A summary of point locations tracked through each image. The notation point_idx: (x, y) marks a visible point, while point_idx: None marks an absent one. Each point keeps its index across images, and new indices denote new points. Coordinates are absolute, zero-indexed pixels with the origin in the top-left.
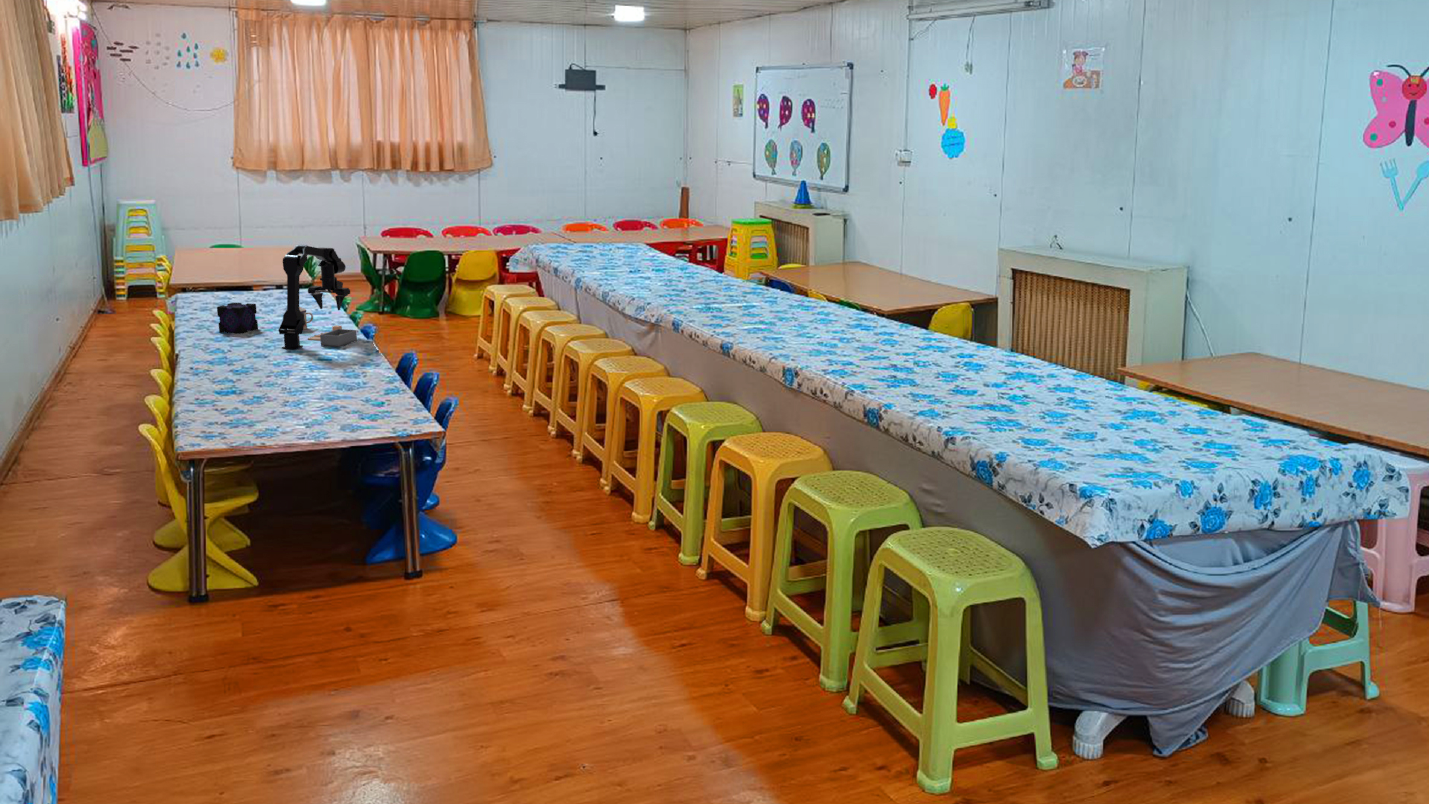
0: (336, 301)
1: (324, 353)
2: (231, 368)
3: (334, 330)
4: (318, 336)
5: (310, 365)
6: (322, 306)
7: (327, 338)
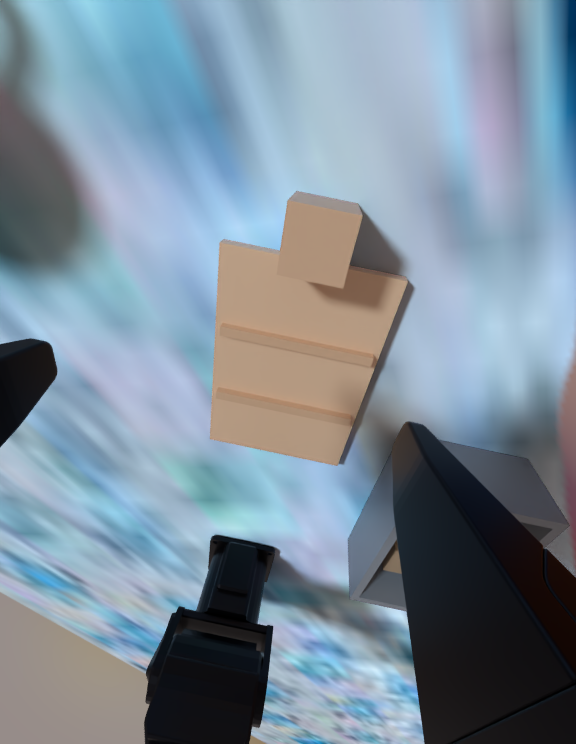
0: (424, 691)
1: (404, 616)
2: None
3: None
4: (247, 400)
5: (402, 685)
6: (14, 356)
7: (390, 589)
